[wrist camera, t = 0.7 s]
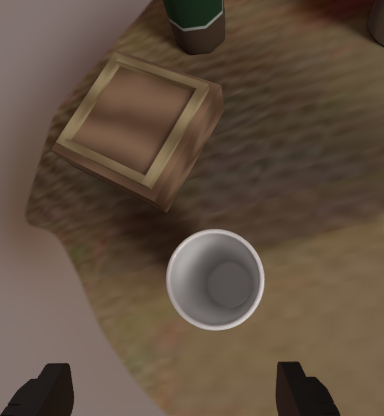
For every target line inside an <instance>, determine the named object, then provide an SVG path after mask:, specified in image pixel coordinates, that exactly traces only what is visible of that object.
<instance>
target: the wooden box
mask: <svg viewBox="0 0 384 416" xmlns="http://www.w3.org/2000/svg"><path fill="white" fill-rule="evenodd" d="M224 110H225V108H224V102H223V96H222V90H221V85H219V84H216V83H213V82H210V81H207V80H204V79H200V78H197V77H194V76H191V75H188V74H185V73H182V72H179V71H176V70H173V69H170V68H167V67H164V66H161V65H158V64H155V63H152V62H149V61H146V60H143V59H140V58H137V57H134V56H131V55H128V54H125V53H122V52H119V51H116V50H115V52H114V54H113V55H112V57H111V58H110V60H109V61H108V63H107V64H106V66H105V67H104V69H103V70H102V72H101V73H100V75H99V76H98V78H97V80H96V81H95V83H94V84H93V86H92V87H91V89H90V90H89V92H88V93H87V95H86V96H85V98H84V99H83V101H82V103H81V104H80V106H79V107H78V109H77V110H76V112H75V113H74V115H73V116H72V118H71V119H70V121H69V122H68V124H67V125H66V127H65V129H64V130H63V132H62V133H61V135H60V136H59V138H58V139H57V141H56V142H55V144H54V145H53V147H52V148H51V150H52V151H53V152H55V153H56V154H57V155H59V156H60V157H62V158H63V159H64V160H66V161H67V162H69V163H70V164H71V165H73V166H75V167H77V168H79V169H81V170H83V171H84V172H86V173H88V174H90V175H92V176H94V177H96V178H98V179H100V180H102V181H104V182H106V183H108V184H110V185H112V186H114V187H116V188H118V189H120V190H122V191H124V192H126V193H128V194H130V195H132V196H134V197H136V198H138V199H140V200H142V201H144V202H146V203H148V204H150V205H152V206H154V207H156V208H158V209H160V210H162V211H164V212H166V213H167V212H168V210H169V208H170V207H171V205H172V203H173V201H174V199H175V198H176V196H177V194H178V192H179V190H180V189H181V187H182V185H183V183H184V182H185V180H186V178H187V176H188V174H189V173H190V171H191V169H192V167H193V165H194V164H195V162H196V160H197V158H198V157H199V155H200V153H201V151H202V149H203V148H204V146H205V144H206V142H207V140H208V139H209V137H210V135H211V133H212V132H213V130H214V128H215V126H216V124H217V123H218V121H219V119H220V117H221V116H222V114H223V112H224Z"/></svg>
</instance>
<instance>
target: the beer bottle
mask: <svg viewBox="0 0 384 416" xmlns="http://www.w3.org/2000/svg"><path fill="white" fill-rule="evenodd" d="M163 1H164V5H165V8H166V11H167V14H168V17H169V21H170V24H171V27H172V30H173V34H174V36H175V39H176V42H177V44H178V45H179V46H180V47H182V48H183V49H184V50H186V51H187V52H188V53H189V54H191V55H196V54H205V53H211V52H212V51H213V50H214V49H215V48H216V47H217V46H218V45H219V44H220V43H222V42H223V41H224V39H225V10H224V1H223V0H163Z"/></svg>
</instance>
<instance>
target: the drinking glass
mask: <svg viewBox="0 0 384 416" xmlns="http://www.w3.org/2000/svg"><path fill="white" fill-rule="evenodd" d="M166 286H167V291H168V295H169V298H170V300H171V302H172V304H173V306H174V308H175V309H176V310H177V312H178V313H179V314H180V315H181V316H182V317H183V318H184V319H185V320H187V321H188V322H189V323H191V324H193V325H195V326H197V327H199V328H202V329H206V330H225V329H229V328H232V327H235V326H237V325H239V324H241V323H242V322H244V321H245V320H246V319H248V318H249V317H250V316H251V315H252V314H253V313H254V311H255V310H256V309H257V307H258V305H259V304H260V301H261V299H262V296H263V293H264V287H265V276H264V270H263V266H262V263H261V260H260V258H259V256H258V254H257V253H256V251H255V250H254V248H253V247H252V246H251V245H250V244H249V243H248V242H247V241H246V240H245V239H243V238H242V237H240V236H239V235H237V234H235V233H233V232H230V231H226V230H221V229H208V230H203V231H200V232H197V233H195V234H193V235H191V236H189V237H188V238H186V239H185V240H184V241H183V242H182V243H181V244H180V245H179V246H178V247H177V248H176V249H175V251H174V252H173V254H172V256H171V258H170V261H169V264H168V267H167V273H166Z"/></svg>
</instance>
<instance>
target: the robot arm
mask: <svg viewBox="0 0 384 416" xmlns="http://www.w3.org/2000/svg"><path fill="white" fill-rule="evenodd" d="M368 28H369V31H370V33H371V35H372V36H373V38H374V39H375V40H377V41H378V42H379V43H380V44H382V45H384V0H375V2H374V5H373V7H372V10H371V12H370V14H369V18H368ZM73 404H74V391H73V385H72V378H71V371H70V366H69V364H68V363H52V364H51V363H50V364H47V365H46V366H45V367H44V369H43V370H42V372H41V374H40V375H39V376H38V378H37V379H30V380H29V381H28V382H27V383H25V384H24V385H23V386H22V387H21V388H20V389H19V390H18V391H17V392H16V393H15V395H14V396H13V398H12V399H11V401H10V402H9V404H8V406H7V407H6V408H5V409H4V411H3V412H2V413H1V415H0V416H70V415H71V413H72V409H73ZM276 405H277V411H278V415H279V416H340V413H339V411H338V409H337V407H336V405H334V401H333V399H332V397H331V395H330V394H329V392H328V390H327V388H326V387H325V386H324V385H323V384H322V383H321V382H320V381H319V380H318V379H317V378H316V377H306V376H305V373H304V371H303V369H302V367H301V365H300V363H299V362H278V364H277V379H276Z"/></svg>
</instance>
